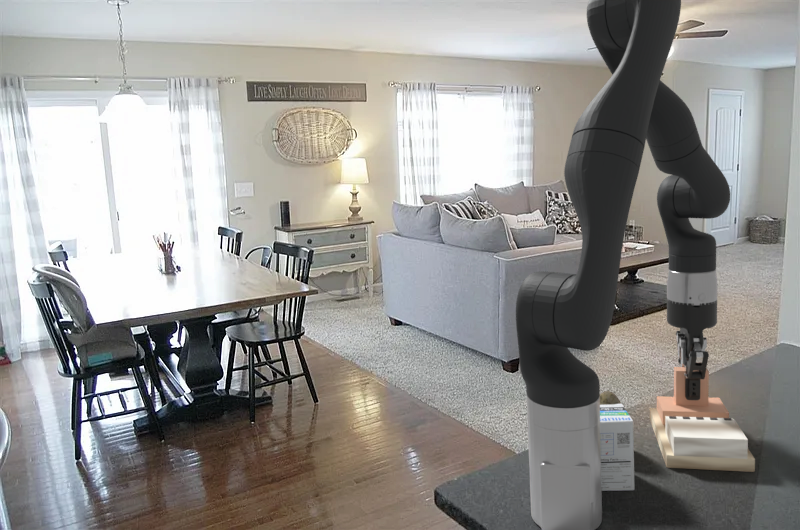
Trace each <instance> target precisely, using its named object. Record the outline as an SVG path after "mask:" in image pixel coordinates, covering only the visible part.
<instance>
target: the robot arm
mask: <svg viewBox="0 0 800 530" xmlns="http://www.w3.org/2000/svg"><path fill="white" fill-rule="evenodd" d="M587 2H588V3H587V7H586V21H587V23H586V24H587V28H588V30H589V34H590V37H591V38H592V40H593V43H594V45H595V47H596V48H597V49H596V50H597V51H598V53H599V55H600V56H601V58H602V60H603V62H604V63H605V64H606V66H607V68H608V69H609V72H610V73H611V77H610V78H609V79H608V80H607V82H605V84H604V85H602V86H603V87H601V88H600V89H599V91H598V93H597V94H595V96H594V97H593V99H592V100H591V101H590V102H589V104H588V105H587V106H586V107H585V109H584V110H583V112H582V113H581V114H580V116H579V118H578V120H577V122H576V123H575V126H574V127H573V128H574V129H573V131H572V136H571V139H570V143H569V147H568V151H567V155H566V160H565V164H564V169H563V170H564V171H563V172H564V173H563V174H564V182H565V186H566V189H567V192H568V196H569V199H570V201H571V203H572V206H573V208H574V210H575V213H576V215H577V219H578V221H579V226H580V230H581V239H582V241H581V242H582V243H581V253H580V258H579V264H578V268H577V272H576V273H568V272H567V273H565V272H555V271H548V270H547V271H546V270H545V271H544V270H542V271H541V270H540V271H534V272H532V273H530V274H529V275H527V276H526V277H525V279H524V280H522V282H521V285H520V287H519V289H518V292H517V296H516V303H515V327H516V336H517V347H518V357H519V358H518V359H519V367H520V373H521V376H522V379H523V381H524V384H525V389H526V390H525V391H526V393H525V394H526V415H527V416H526V419H527V420H526V421H527V441H528V442H527V444H528V464H529V465H528V466H529V467H528V470H529V491H530V515H531V518H532V520H533V521H534V522H535V524H536V525H537V526H538V527H540V528H541V530H596V529H598V528H599V526H600V525H601V524H602V522H603V506H602V504H603V503H602V502H603V500H602V497H603V495H602V491H601V446H600V394H601V393H600V392H601V391H600V388H601V387H600V385H601V384H600V379H599V376H598V374H597V373H596V372H595V370H594V369H592V368H591V367H590V366H589V365H587V364H585V363H584V362H582V361H581V360H580V359H578V358H577V357H576V356H575V355H574V354H573V353H572V352H571V350H570V349H572V350H573V349H574V350H579V351H585V352H586V351H587V352H588V351H594V350H596V349H598V347H599V346H601V345H602V344H603V342H604V340H605V339H606V337H607V335H608V332H609V329H610V326H611V323H612V319H613V316H614V311H615V303H616V298H617V288H618V283H619V282H618V281H619V274H620V265H621V260H622V259H621V258H622V253H623V244H624V239H625V232H626V228H627V227H626V226H627V223H628V218H629V213H630V208H631V204H632V200H633V196H634V191H635V189H636V188H635V187H636V185H637V184H636V183H637V180H638V177H639V173H640V169H641V168H640V167H641V164H642V159H643V155H644V150H645V146H646V142H647V145H648V148H649V150H650V153H651V155H652V158H653V162H654V164H655V166H656V168H657V169H658V170H659V171H661V172H662V173H664V174H667V175H668V176H666V177H665V178H664V179H663V180H662V181H661V183H660V185H659V187H658V190H657V193H656V202H657V203H656V204H657V205H656V206H657V208H658V212H659V213H658V214H659V216H660V219H661V221H662V226H663V229H664V232H665V233H664V234H665V237H666V241H667V246H668V273H667V278H666V279H667V281H666V322H667V323H668V324H669V326H672V327H674V328H678V329H679V330H676V332H675V337H676V342H677V343H676V345H677V357H678V359H677V362H678V365H680V366H679V367H685V374H684V377H685V397H686V399H687V400H699V399H700V379H704V378H705V373H706V368H707V365H708V362H709V361H708V359H709V357H710V354H709V352H708V351H707V350H706V349H707V347H708V341H707V337H704V330H706V329H711V328H713V327H715V326H716V325H717V324H718V278H717V240H716V238H715V236H713V235H712V234H710V233H707V232H705V231H704V232H703V231H700V230H697V229H696V228H694V226H693V225H692V224H691V223H692V222H691V221H690V219H715V218H718V217H720V216H722V215H723V214H724V213H726V211H727V209H728V207H729V205H730V202H731V189H730V185H729V183H728V180H727V178H726V176H725V174H723V173H724V172H723V171H722V170H721V169H720V168H719V167H718V165H717V164H716V163H715V161H714V160H713V158H712V157H711V155H710V154H709V153H708V151H707V150H706V149H705V148H704V146H703V143H702V140H701V136H700V134H699V131H698V127H697V125H696V122H695V118H694V116H693V114H692V112H691V110H690V108H689V106H688V105H687V104H686V103H685V101H684V100H683V99H682V98H681V97H680V96H679V95H678V94H677V93H676V92H675V91H674V90H673V89H672V88H670V87H669V86H668V85H666V84H665V83H664V82H663V81H662V80H661V78H662V75H663V71H664V69H665V66H666V64H667V60H668V57H669V54H670V51H671V49H672V46H673V42H674V40H675V36H676V34H677V29H678V25H679V22H680V16H681V7H682V0H588V1H587ZM693 370H697V371H693Z"/></svg>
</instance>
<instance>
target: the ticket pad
mask: <svg viewBox="0 0 800 530" xmlns="http://www.w3.org/2000/svg"><path fill="white" fill-rule="evenodd" d="M649 421H650V424H651V427H652V429H653V432H654V434H655V438H656V440H657V444H658V446H659V449H660V453H661V455H662V458H663V461H664V463H665V467H666V468H669V469H670V468H671V469H689V470H706V471H709V470H710V471H727V472H728V471H730V472H747V473H748V472H749V473H750V472H751V473H755V471H756V470H755V469H756V458H755V457H754V455H753V454H752V452H751V450H750V449H749V447H748V446H749V444H748V443H749V439H748V438H747V436H746V435H745V433H744V431H743V430H742V429H741V427H740V425H739V424H738V423H737V421H736V419H734V418H733V417H729V418H711V417H678V416H665V425H663V424H662V421H661V419H660V416H659V414H658V411H657V407H649Z"/></svg>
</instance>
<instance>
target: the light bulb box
mask: <svg viewBox="0 0 800 530" xmlns="http://www.w3.org/2000/svg"><path fill="white" fill-rule="evenodd" d="M634 438H635V437H634V420H633V418H632V417H631V415H630V414H629V413H628V411H627V410H626V409H625V406H624V405H623V403H621V404H603V405H600V446H601V492H605V491H607V492H611V491H613V492H615V491H617V492H618V491H619V492H620V491H635V453H634V452H635V447H634V446H635V443H634Z"/></svg>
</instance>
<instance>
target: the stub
mask: <svg viewBox="0 0 800 530" xmlns="http://www.w3.org/2000/svg"><path fill="white" fill-rule="evenodd" d="M693 371H697V370H693ZM684 374H685V367H680V366H673V396H661V395H660V396H656V408H657V411H658V414H659V416H660V419H661V421H662V424H663V425H665V416H678V417H711V418H730V412H729V410H728V409H727V407H726V406H725V404H724V403H723V402H722V401H723V400H721V398H720V397H710V396H709V394H710V393H709V389H710V388H709V387H710V385H709V384H710V381H709V380H710V377H709V376H710V372H709V370H708V368H707V367H706V373H705V378H704V379H700V399H699V400H687V399H686V397H685V377H684Z"/></svg>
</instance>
